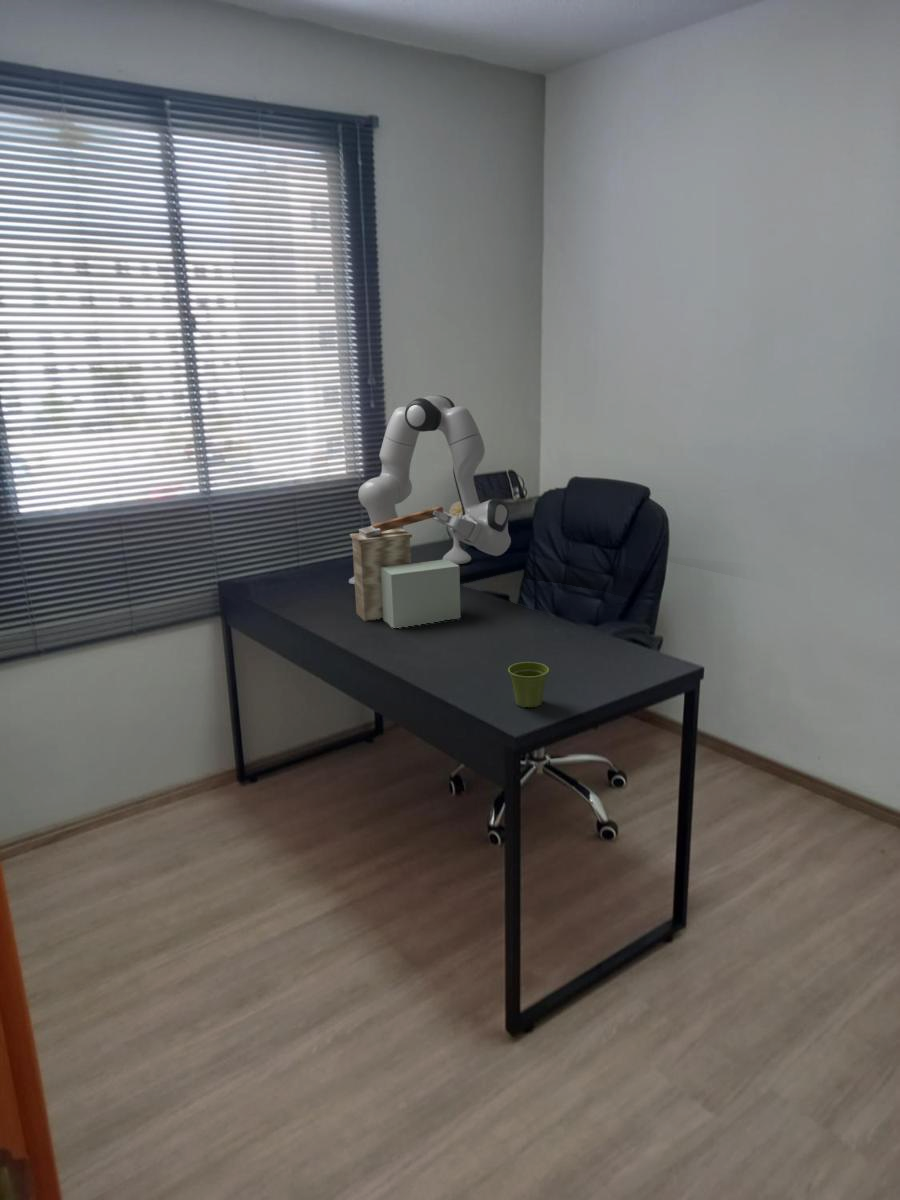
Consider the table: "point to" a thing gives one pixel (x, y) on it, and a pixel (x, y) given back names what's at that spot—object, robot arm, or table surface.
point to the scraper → (398, 522)
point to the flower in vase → (457, 541)
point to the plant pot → (528, 682)
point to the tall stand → (376, 567)
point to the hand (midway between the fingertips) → (431, 510)
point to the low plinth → (420, 593)
